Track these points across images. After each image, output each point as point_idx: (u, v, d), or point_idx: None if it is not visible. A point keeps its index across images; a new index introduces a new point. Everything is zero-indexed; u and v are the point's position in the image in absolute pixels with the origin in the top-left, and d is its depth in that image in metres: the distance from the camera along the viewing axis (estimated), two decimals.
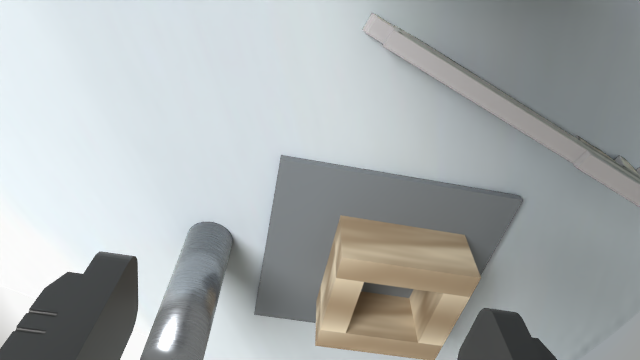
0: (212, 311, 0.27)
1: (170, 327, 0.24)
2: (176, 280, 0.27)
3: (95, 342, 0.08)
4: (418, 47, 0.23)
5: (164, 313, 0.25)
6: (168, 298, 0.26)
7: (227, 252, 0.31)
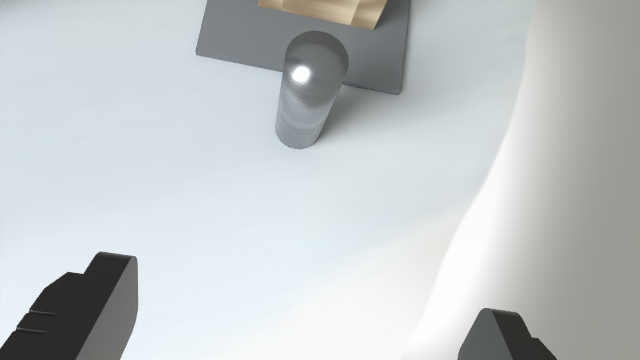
0: None
1: (283, 70, 0.23)
2: (283, 109, 0.27)
3: (95, 342, 0.08)
4: None
5: (285, 90, 0.24)
6: (285, 100, 0.25)
7: None
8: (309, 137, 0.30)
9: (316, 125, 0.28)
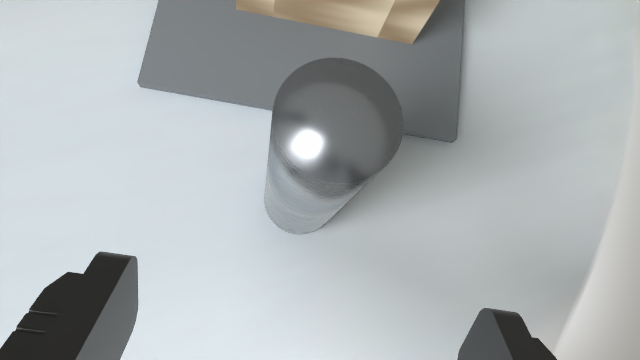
0: None
1: (270, 137, 0.12)
2: (274, 191, 0.15)
3: (95, 342, 0.08)
4: None
5: (275, 170, 0.13)
6: (276, 183, 0.14)
7: None
8: (320, 224, 0.18)
9: (332, 214, 0.16)
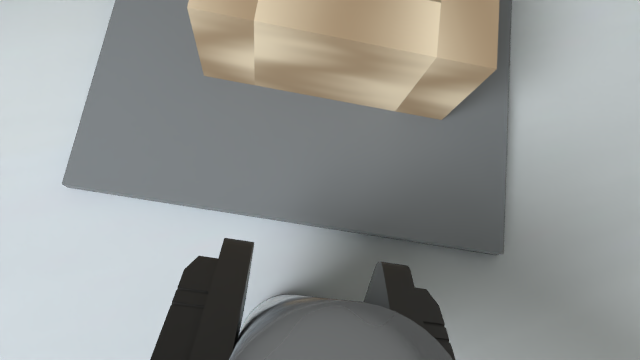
0: (295, 299, 0.09)
1: None
2: None
3: (239, 315, 0.09)
4: None
5: None
6: None
7: (280, 296, 0.13)
8: None
9: None
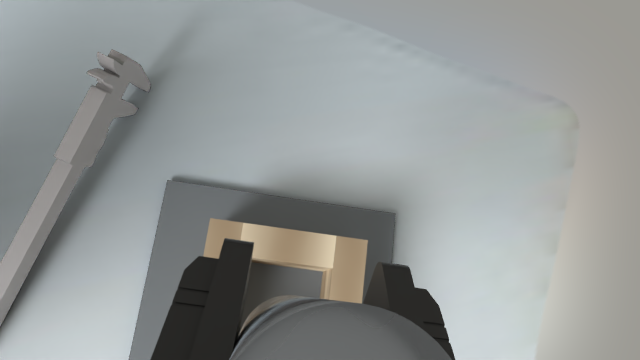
0: (295, 300, 0.09)
1: None
2: None
3: (240, 315, 0.09)
4: None
5: None
6: None
7: (280, 297, 0.13)
8: None
9: None
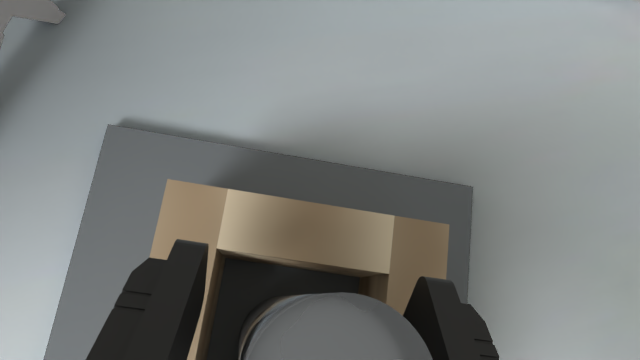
0: (296, 295, 0.11)
1: None
2: None
3: (185, 319, 0.09)
4: None
5: None
6: None
7: (278, 296, 0.15)
8: None
9: None
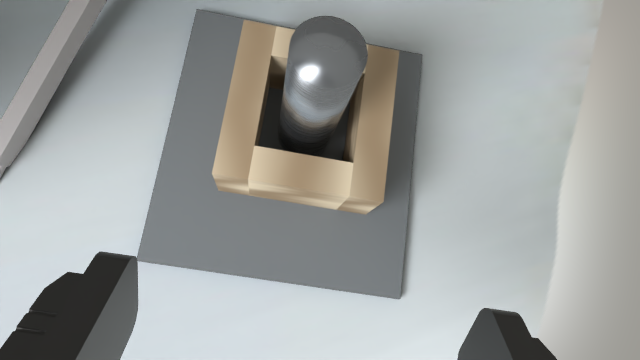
0: None
1: (287, 66, 0.19)
2: (287, 113, 0.22)
3: (95, 342, 0.08)
4: None
5: (289, 90, 0.20)
6: (289, 103, 0.21)
7: None
8: (318, 146, 0.25)
9: (326, 132, 0.23)
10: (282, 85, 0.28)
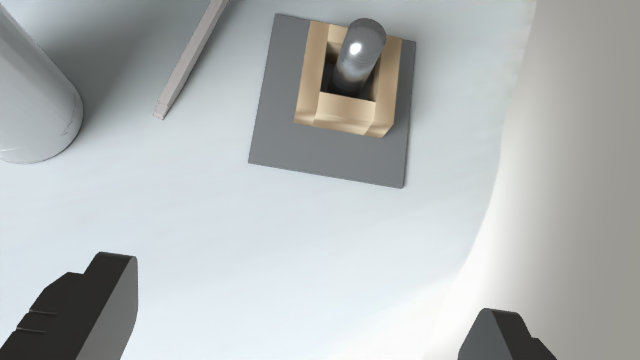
0: None
1: (343, 44, 0.36)
2: (339, 72, 0.40)
3: (95, 342, 0.08)
4: (166, 86, 0.42)
5: (344, 57, 0.37)
6: (342, 65, 0.38)
7: None
8: (354, 95, 0.43)
9: (360, 84, 0.41)
10: (330, 60, 0.45)
